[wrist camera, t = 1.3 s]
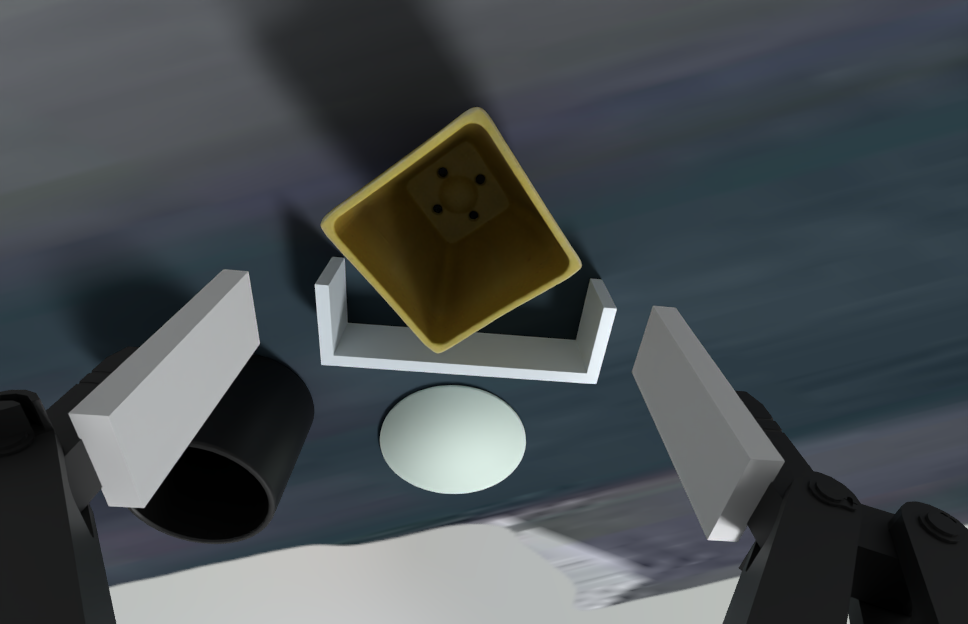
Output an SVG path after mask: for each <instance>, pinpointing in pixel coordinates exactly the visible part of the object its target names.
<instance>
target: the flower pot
mask: <svg viewBox="0 0 968 624" xmlns="http://www.w3.org/2000/svg"><path fill="white" fill-rule="evenodd" d="M442 167H444V168H446V169H447V171H448V173H447V175H446V176H445V177H441V176H440V175H439V173H438V170H439V169H440V168H442ZM480 174H481V175H483V176H484V177H485V181H484V183H482V184H478V183H477V182H476V177H477V176H478V175H480ZM434 205H440V206H441V207H442V211H441V212H440V213H436V212H434V210H433V207H434ZM471 211H476V212H477V213H478V217H477V218H476V219H471V218H470V217H469V214H470V212H471ZM321 228H322V230H323V231H324V233H325V234H326V235H327V237H328V238H329V239H330V240H331V241H332V242H333V244H334V245H335V246H336V247H337V248H338V249H339V250H340V251H341V252H342V254H343V255H344V256H345V257H346V258H347V259H348V260H349V261H350V262H351V263H352V264H353V265H354V266H355V267H356V269H357V270H358V271H359V272H360V273H361V274H362V275H363V276H364V277H365V279H366V280H367V281H368V282H369V283H370V284H371V285H372V286H373V287H374V288H375V289H376V291H377V292H378V293H379V294H380V295H381V296H382V297H383V298H384V299H385V301H386V302H387V303H388V304H389V305H390V306H391V307H392V308H393V309H394V311H395V312H396V313H397V314H398V315H399V316H400V318H401V319H402V320H403V321H404V322H405V323H406V324H407V325H408V327H409V328H410V329H411V330H412V331H413V332H414V334H415V335H416V336H417V337H418V338H419V339H420V340H421V342H422V343H423V344H424V345H426V346H427V347H428V348H429V349H431V350H432V351H433V352H435V353H441V352H444V351H446V350H448V349H449V348H451V347H453V346H454V345H456V344H458V343H459V342H461V341H462V340H464V339H466V338H467V337H469V336H470V335H472V334H473V333H475V332H477V331H478V330H480V329H482V328H483V327H485V326H486V325H488V324H489V323H491V322H493V321H494V320H496V319H497V318H499V317H501V316H502V315H504V314H506V313H507V312H509V311H511V310H513V309H514V308H516V307H518V306H520V305H522V304H523V303H525V302H527V301H529V300H531V299H532V298H534V297H536V296H538V295H539V294H541V293H543V292H545V291H547V290H548V289H550V288H552V287H554V286H555V285H557V284H559V283H561V282H563V281H565V280H566V279H568V278H569V277H571V276H572V275H573V274H575V273H576V272H577V271H578V270H579V269H580V268H581V266H582V264H581V260H580V258H579V257H578V255H577V254H576V252H575V251H574V249H573V248H572V246H571V245H570V243H569V242H568V240H567V239H566V237H565V235H564V234H563V232H562V231H561V229H560V228H559V226H558V224H557V223H556V221H555V220H554V218H553V217H552V215H551V214H550V212H549V211H548V209H547V207H546V206H545V204H544V202H543V201H542V199H541V198H540V196H539V195H538V193H537V191H536V190H535V188H534V187H533V185H532V183H531V182H530V180H529V179H528V177H527V175H526V174H525V172H524V171H523V169H522V167H521V166H520V164H519V163H518V161H517V159H516V158H515V156H514V155H513V153H512V151H511V150H510V148H509V147H508V145H507V143H506V142H505V140H504V139H503V137H502V135H501V134H500V132H499V131H498V129H497V127H496V125H495V124H494V122H493V121H492V119H491V118H490V116H489V115H488V113H487V112H486V111H485V110H483V109H482V108H480V107H473V108H470V109H469V110H467V111H465V112H464V113H463V114H461V115H460V116H459V117H457V118H456V119H455V120H453V121H452V122H451V123H450V124H448V125H447V126H446V127H444V128H443V129H442V130H440V131H439V132H438V133H436V134H435V135H433V136H432V137H431V138H429V139H428V140H427V141H425V142H424V143H423V144H421V145H420V146H418V147H417V148H416V149H414V150H413V151H412V152H410V153H409V154H408V155H406V156H405V157H404V158H402V159H401V160H399V161H398V162H397V163H395V164H394V165H393V166H391V167H390V168H389V169H387V170H386V171H385V172H383V173H382V174H380V175H379V176H378V177H376V178H375V179H374V180H372V181H371V182H369V183H368V184H367V185H365V186H364V187H363V188H361V189H360V190H359V191H357V192H356V193H354V194H353V195H352V196H350V197H349V198H347V199H346V200H345V201H344V202H342V203H341V204H339V205H338V206H336V207H335V208H334V209H333V210H331V211H330V212H329V213H328V214H327V215H326V216H325V217H324V218H323V219H322V221H321Z"/></svg>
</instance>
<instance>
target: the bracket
mask: <svg viewBox="0 0 968 624" xmlns="http://www.w3.org/2000/svg"><path fill="white" fill-rule="evenodd" d="M315 295H316V307H317V318H318V330H319V342H320V354H321V365H332V366H346V367H360V368H375V369H389V370H403V371H417V372H432V373H446V374H460V375H475V376H489V377H503V378H517V379H532V380H546V381H560V382H575V383H589V384H596V383H597V379H598V376H599V372H600V368H601V365H602V361H603V357H604V354H605V350H606V346H607V343H608V339H609V335H610V332H611V328H612V324H613V321H614V317H615V314H616V310H617V308H616V306H615V304H614V302H613V300H612V298H611V296H610V294H609V292H608V290H607V289H606V287H605V285H604V283H603V281H602V279H591V278H590V282H589V286H588V290H587V294H586V299H585V303H584V307H583V312H582V316H581V320H580V324H579V329H578V333H577V337H576V340H569V339H556V338H543V337H530V336H517V335H503V334H490V333H477V332H475V333H473V334H472V335H470V336H469V337H467V338H466V339H464V340H462V341H461V342H459V343H458V344H456V345H454V346H453V347H451V348H449V349H448V350H446V351H444V352H441V353H435V352H433V351H432V350H431V349H429V348H428V347H427V346H426V345H424V344H423V343H422V342H421V340H420V339H419V338H418V337H417V336H416V335H415V334H414V332H413V331H412V330H411V329H410V328H409V327H398V326H385V325H371V324H358V323H348V316H347V296H346V275H345V258H341V257H332V258H331V259H330V261H329V263H328V264H327V266H326V267H325V269H324V270H323V272H322V274H321V275H320V277H319V278H318V280H317V281H316V283H315Z"/></svg>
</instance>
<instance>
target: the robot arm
mask: <svg viewBox="0 0 968 624" xmlns="http://www.w3.org/2000/svg"><path fill="white" fill-rule="evenodd" d="M259 344H260V341H259V335H258V328H257V322H256V316H255V310H254V303H253V297H252V291H251V284H250V278H249V272H248V271H237V270H226V269H223V270H222V271H221V272H220V273H219V274H218V275H217V276H216V277H215V278H214V279H213V280H212V281H210V282H209V283H208V284H207V285H206V286H205V287H204V288H203V289H202V290H201V291H200V292H199V293H198V294H196V295H195V296H194V297H193V298H192V299H191V300H190V301H189V302H188V303H187V304H186V305H185V306H184V307H182V308H181V309H180V310H179V311H178V312H177V313H176V314H175V315H174V316H173V317H172V318H171V319H170V320H168V321H167V322H166V323H165V324H164V325H163V326H162V327H161V328H160V329H159V330H158V331H157V332H155V333H154V334H153V335H152V336H151V337H150V338H149V339H148V340H147V341H146V342H145V343H144V344H143V345H141V346H140V347H129V346H128V347H126V348H124V349H123V350H121V351H119V352H117V353H115V354H113V355H111V356H109V357H107V358H106V359H105V360H104V361H102V362H101V363H100V364H99V365H98V366H97V367H96V368H94V369H93V370H92V373H89V374H87V375H86V376H85V377H84V378H83V379H82V380H81V381H80V383H79V384H76V385H75V386H74V387H73V388H71V389H70V390H69V391H68V392H67V393H66V394H65V395H63V396H62V397H61V398H60V399H59V400H58V401H57V402H55V403H54V404H53V405H52V406H51V407H50V408H49V409H47V410H46V411H45V409H44V407H43V404H42V402H41V400H40V398H39V397H38V396H37V394H36V393H34V392H31V391H28V390H8V391H3V392H0V624H116V620H115V616H114V611H113V606H112V601H111V596H110V591H109V586H108V582H107V577H106V572H105V567H104V562H103V558H102V553H101V548H100V543H99V538H98V534H97V529H96V524H95V519H94V514H93V511H92V509H91V507H90V505H89V502H90V501H91V500H92V499H93V498H94V496H95V495H96V494H97V493H98V492H99V490H100V489H102V492H103V494H104V496H105V498H106V501H107V503H108V505H109V506H115V507H132V508H145V506H146V505H147V503H148V502H149V501H150V499H151V498H152V496H153V495H154V494H155V492H156V491H157V489H158V488H159V486H160V485H161V484H162V482H163V481H164V479H165V478H166V476H167V475H168V474H169V472H170V471H171V469H172V468H173V467H174V465H175V464H176V462H177V461H178V459H179V458H180V457H181V455H182V454H183V452H184V451H185V449H186V448H187V447H188V445H189V444H190V442H191V441H192V440H193V438H194V437H195V435H196V434H197V432H198V431H199V430H200V428H201V427H202V425H203V424H204V422H205V421H206V420H207V418H208V417H209V415H210V414H211V412H212V411H213V410H214V408H215V407H216V405H217V404H218V403H219V401H220V400H221V398H222V397H223V395H224V394H225V393H226V391H227V390H228V388H229V387H230V385H231V384H232V383H233V381H234V380H235V378H236V377H237V376H238V374H239V373H240V371H241V370H242V368H243V367H244V366H245V364H246V363H247V361H248V360H249V358H250V357H251V356H252V354H253V353H254V351H255V350H256V349H257V347H258V346H259ZM632 373H633V376H634V378H635V380H636V382H637V384H638V387H639V389H640V391H641V393H642V396H643V398H644V400H645V402H646V404H647V407H648V409H649V411H650V413H651V416H652V418H653V420H654V422H655V424H656V427H657V429H658V431H659V433H660V436H661V438H662V440H663V442H664V444H665V447H666V449H667V451H668V453H669V456H670V458H671V460H672V462H673V464H674V467H675V469H676V471H677V473H678V476H679V478H680V480H681V482H682V484H683V487H684V489H685V491H686V493H687V496H688V498H689V500H690V502H691V505H692V507H693V509H694V511H695V513H696V516H697V518H698V520H699V522H700V525H701V527H702V529H703V531H704V533H705V536H706V538H707V540H718V541H735V542H738V541H739V539H740V537H741V536H742V534H743V532H744V531H745V529H746V527H747V525H748V527H749V528H750V530H751V532H752V534H753V536H754V538H755V539H756V541H755V542H754V544H753V546H752V547H751V549H750V551H749V552H748V554H747V555H746V557H745V559H744V560H743V562H742V564H741V565H740V567H739V569H740V570H742V573H741V576H740V578H739V581H738V584H737V586H736V589H735V592H734V594H733V597H732V600H731V603H730V605H729V608H728V611H727V613H726V616H725V619H724V621H723V624H847V618H848V614H849V619H850V624H968V529H967V528H966V527H965V526H964V525H963V524H962V523H960V522H959V521H958V520H957V519H955V518H954V517H953V516H950V514H948V513H946V512H944V511H942V510H940V509H938V508H936V507H933V506H931V505H928V504H924V503H920V502H906V503H905V504H904V505H902V506H901V508H900V509H899V510H898V511H897V512H896V514H892V513H889V512H886V511H882V510H879V509H876V508H872V507H869V506H866V505H863V504H861V503H860V502H859V500H858V499H857V498H856V496H855V495H854V494H853V493H852V492H851V491H850V490H849V489H848V488H847V487H846V486H845V485H843V484H842V483H840V482H838V481H837V480H835V479H833V478H832V477H830V476H827V475H824V474H822V473H819V472H814V471H813V470H812V469H811V467H810V466H809V465H808V464H807V462H806V461H805V460H804V458H803V457H802V456H801V454H800V453H799V452H798V450H797V449H796V448H795V446H794V445H793V444H792V443H791V441H790V440H789V439H788V437H787V436H786V435H785V433H782V429H781V428H780V427H779V425H778V424H777V423H776V422H775V421H773V418H772V416H771V415H770V414H769V412H768V411H767V410H766V408H765V407H764V406H763V404H761V403H760V402H759V401H757V400H756V399H755V398H754V397H752V396H751V395H750V394H748V393H747V392H744V391H734V389H733V388H732V386H731V385H730V384H729V382H728V381H727V379H726V378H725V377H724V375H723V374H722V372H721V371H720V370H719V368H718V367H717V365H716V364H715V363H714V361H713V360H712V358H711V357H710V356H709V354H708V353H707V351H706V350H705V349H704V347H703V346H702V344H701V343H700V342H699V340H698V339H697V337H696V336H695V335H694V333H693V332H692V330H691V329H690V327H689V326H688V325H687V323H686V322H685V320H684V319H683V318H682V316H681V315H680V313H679V312H678V311H677V309H676V308H673V307H661V306H653V307H652V310H651V314H650V317H649V320H648V323H647V326H646V329H645V333H644V336H643V339H642V342H641V345H640V348H639V351H638V355H637V358H636V361H635V364H634V367H633V370H632Z"/></svg>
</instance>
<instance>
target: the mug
mask: <svg viewBox="0 0 968 624" xmlns="http://www.w3.org/2000/svg"><path fill="white" fill-rule="evenodd" d="M313 419H314V404H313V400H312V397H311V394H310V392H309V390H308V388H307V387H306V386H305V384H304V383H303V381H302V380H301V379H300V378H299V377H298V376H297V375H296V374H295V373H293V372H292V371H291V370H289V369H288V368H287V367H285V366H283V365H282V364H280V363H278V362H276V361H273V360H271V359H268V358H265V357H262V356H258V355H253V354H252V356H251V357H250V358H249V360H248V361H247V363H246V364H245V366H244V367H243V368H242V370H241V371H240V373H239V374H238V376H237V377H236V378H235V380H234V381H233V383H232V384H231V385H230V387H229V388H228V390H227V391H226V393H225V394H224V395H223V397H222V398H221V400H220V401H219V403H218V404H217V405H216V407H215V408H214V410H213V411H212V412H211V414H210V415H209V417H208V418H207V420H206V421H205V422H204V424H203V425H202V427H201V428H200V430H199V431H198V432H197V434H196V435H195V437H194V438H193V440H192V441H191V442H190V444H189V445H188V447H187V448H186V449H185V451H184V452H183V454H182V455H181V457H180V458H179V459H178V461H177V462H176V464H175V465H174V467H173V468H172V469H171V471H170V472H169V474H168V475H167V476H166V478H165V479H164V481H163V482H162V484H161V485H160V486H159V488H158V489H157V491H156V492H155V494H154V495H153V496H152V498H151V499H150V501H149V502H148V503H147V505H146V506H145V508H132V507H127V508H128V509H129V510H130V511H131V512H132V513H133V514H134V515H135V516H136V517H138V518H139V519H140V520H142V521H143V522H145V523H146V524H147V525H149V526H151V527H153V528H155V529H156V530H158V531H161V532H163V533H165V534H167V535H170V536H173V537H176V538H179V539H183V540H187V541H191V542H198V543H207V544H224V543H232V542H238V541H241V540H245V539H247V538H250V537H252V536H254V535H256V534H257V533H259V532H260V531H262V530H263V529H264V528H265V527H266V526H267V525H268V524H269V522H270V521H271V520H272V518H273V516H274V513H275V511H276V509H277V506H278V504H279V501H280V499H281V497H282V494H283V492H284V489H285V487H286V485H287V482H288V480H289V478H290V475H291V473H292V470H293V468H294V466H295V463H296V461H297V458H298V456H299V454H300V451H301V449H302V446H303V444H304V442H305V439H306V437H307V434H308V432H309V430H310V427H311V425H312V422H313Z"/></svg>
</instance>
